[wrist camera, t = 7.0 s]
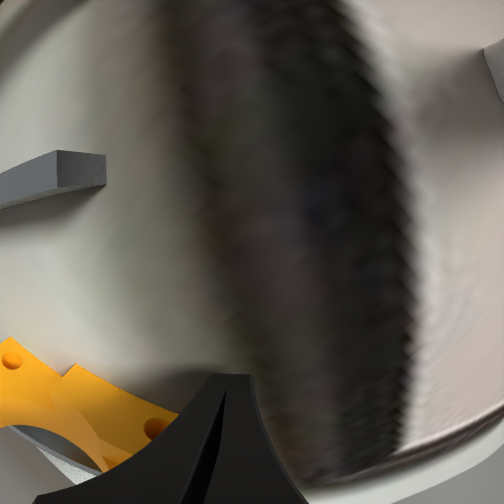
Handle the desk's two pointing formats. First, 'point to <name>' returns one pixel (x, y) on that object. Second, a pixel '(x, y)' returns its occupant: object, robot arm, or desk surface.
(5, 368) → the pipe clamp
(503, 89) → the power adapter
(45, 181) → the frame
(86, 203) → the desk surface
